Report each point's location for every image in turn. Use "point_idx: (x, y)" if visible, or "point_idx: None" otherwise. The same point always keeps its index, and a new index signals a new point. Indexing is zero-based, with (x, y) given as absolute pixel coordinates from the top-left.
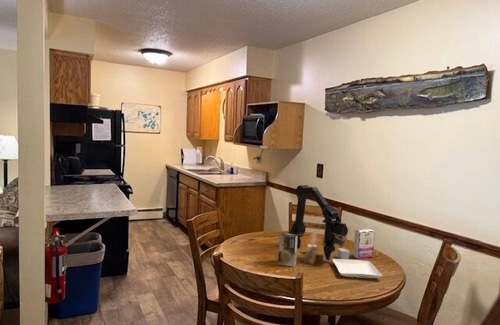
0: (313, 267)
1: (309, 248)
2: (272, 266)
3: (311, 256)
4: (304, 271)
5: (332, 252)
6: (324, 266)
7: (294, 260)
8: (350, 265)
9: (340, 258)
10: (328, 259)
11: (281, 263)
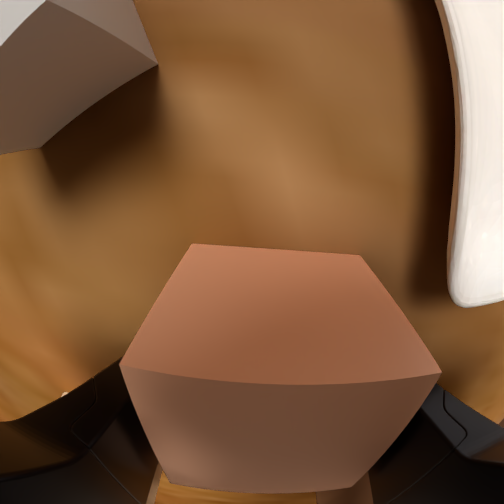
0: (470, 407)
1: (151, 501)
2: None
3: None
4: (495, 421)
5: (344, 389)
6: (480, 347)
7: None
8: (472, 5)
9: (128, 73)
10: None
11: None
